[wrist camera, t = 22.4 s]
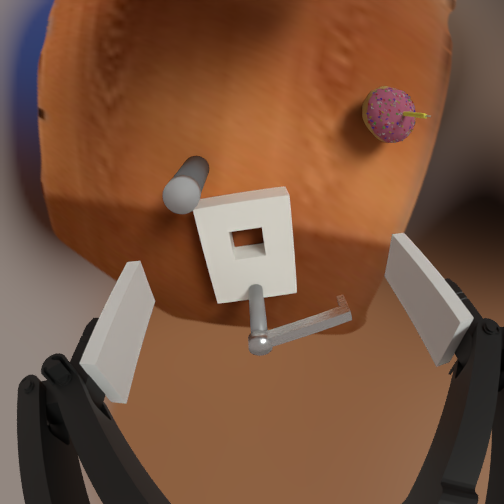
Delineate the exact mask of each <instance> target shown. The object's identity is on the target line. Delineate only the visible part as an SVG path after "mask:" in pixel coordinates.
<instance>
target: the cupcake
mask: <svg viewBox="0 0 504 504" xmlns="http://www.w3.org/2000/svg"><path fill="white" fill-rule="evenodd" d="M414 109H415V107H414V103H413V102H412V100H411V99H410V96H408V94H406V93H405V92H404V91H401V90H398V89H395V88H392V87H388V86H382V87H379V88H377V89H375V90H373V91H371V92H370V93H369V94H368V96H367V97H366V99H365V100H364V102H363V105H362V118H363V121H364V123H365V125H366V126H367V128H368V129H369V130H370V132H371V133H372V134H373V135H374V136H375V137H376V138H377V139H379V140H380V141H383V142H386V143H393V142H394V143H396V142H399V141H403V139H405V138H407V136H408V135H409V134H410V133H411V132H412V130H413V127H414V125H415V117H418V118H427V117H431V116H430V115H426V114H425V113H415V110H414Z"/></svg>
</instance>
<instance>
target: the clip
mask: <svg viewBox="0 0 504 504" xmlns="http://www.w3.org/2000/svg"><path fill="white" fill-rule="evenodd" d="M337 301H338V305H339V307H337V308H334V309H331V310H328V311H326V312H323V313H320V314H317V315H314V316H311V317H308V318H306V319H303V320H300V321H297V322H294V323H291V324H288V325H284V326H281V327H278V328H275V329H272V330H269V331H264V330H257V331H254V332H252V333H251V334H250V335H249V337H248V339H249V340H248V341H249V351H250V352H251V353H252V354H254V355H266V354H268V353H269V352H270V351H271V350H272V346H276V345H279V344H282V343H285V342H289V341H292V340H295V339H298V338H301V337H304V336H307V335H310V334H313V333H316V332H319V331H322V330H325V329H328V328H331V327H334V326H336V325H339V324H342V323H345V322H347V321H350V320H352V316H351V312H350V309H349V307H348V305H347V302H346V300H345V298H344V295H340V296H337Z"/></svg>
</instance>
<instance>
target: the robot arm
mask: <svg viewBox="0 0 504 504" xmlns="http://www.w3.org/2000/svg"><path fill="white" fill-rule="evenodd" d="M385 278H386V279H387V281H388V283H389V284H390V286H391V287H392V289H393V290H394V292H395V294H396V295H397V297H398V299H399V300H400V302H401V304H402V305H403V307H404V309H405V310H406V312H407V314H408V315H409V317H410V319H411V321H412V322H413V324H414V326H415V328H416V329H417V331H418V333H419V335H420V337H421V338H422V340H423V342H424V344H425V346H426V348H427V350H428V351H429V353H430V355H431V357H432V359H433V361H434V363H435V365H436V367H437V366H440V365H443V364H446V363H448V362H450V360H451V358H452V356H453V355H454V354H455V355H456V357H457V358H458V359H457V361H456V362H455V364H454V365H453V367H452V369H451V370H450V372H449V374H450V375H451V373H452V372H453V375H452V379H451V384H450V388H449V391H448V395H447V399H446V402H445V406H444V409H443V412H442V416H441V419H440V422H439V425H438V428H437V430H436V433H435V436H434V439H433V441H432V444H431V447H430V449H429V452H428V454H427V457H426V459H425V461H424V464H423V466H422V468H421V470H420V473H419V475H418V477H417V479H416V481H415V483H414V485H413V487H412V489H411V491H410V493H409V495H408V497H407V498H406V500H405V501H404V502H403V503H402V504H477V503H478V495H477V494H476V492H475V487H476V484H477V480H478V478H479V475H480V472H481V468H482V465H483V462H484V458H485V455H486V451H487V447H488V443H489V439H490V435H491V430H492V449H491V464H490V474H489V482H488V489H487V496H486V502H485V504H504V327H499V325H498V324H497V323H496V322H495V321H493V320H491V319H487V318H484V319H483V318H482V317H481V315H480V314H479V313H478V311H477V310H476V309H475V307H474V306H473V304H472V303H471V302H470V300H469V299H467V297H466V295H465V294H464V293H462V290H461V289H460V288H459V287H458V285H457V284H455V283H454V282H452V281H451V280H450V279H444V278H443V277H442V276H441V275H440V273H439V272H438V271H437V270H436V269H435V267H434V266H433V265H432V264H431V263H430V262H429V260H428V259H427V258H426V257H425V256H424V255H423V253H421V251H420V250H419V249H418V248H417V247H416V246H415V245H414V244H413V242H412V241H411V240H410V239H409V238H408V237H407V236H406V235H405V234H404V233H399V234H392V238H391V244H390V250H389V256H388V261H387V266H386V271H385ZM154 303H155V300H154V297H153V294H152V292H151V289H150V287H149V284H148V281H147V279H146V276H145V273H144V270H143V267H142V265H141V262H140V261H133V262H127V264H126V266H125V267H124V269H123V271H122V273H121V275H120V277H119V279H118V281H117V283H116V285H115V287H114V289H113V290H112V292H111V294H110V296H109V299H108V301H107V303H106V305H105V307H104V309H103V311H102V313H101V315H100V317H99V318H93V319H92V320H91V321H90V322H89V324H88V325H87V326H86V328H85V330H84V332H83V336H81V338H80V341H79V343H78V345H77V347H76V350H75V352H74V354H73V356H72V359H71V361H70V362H69V361H68V360H67V358H66V357H65V356H64V355H63V354H54V355H51V356H50V357H48V358H47V359H46V360H45V362H44V363H43V365H42V369H41V373H42V375H43V376H44V377H45V378H46V379H47V380H46V381H40V380H39V379H38V378H37V376H35V375H28V376H26V377H25V378H24V379H23V380H22V381H21V382H20V384H19V388H18V401H17V435H18V437H17V438H18V455H19V466H20V475H21V482H22V489H23V494H24V500H25V504H90V502H89V498H88V495H87V492H86V488H85V484H84V480H83V476H82V472H81V468H80V463H79V459H80V461H81V463H82V465H83V467H84V469H85V471H86V473H87V475H88V477H89V479H90V481H91V482H92V485H93V487H94V488H95V490H96V492H97V494H98V496H99V497H100V499H101V501H102V502H103V504H171V503H170V502H169V501H168V499H167V498H166V497H165V496H164V494H163V493H162V492H161V491H160V489H159V488H158V487H157V485H156V484H155V483H154V482H153V480H152V479H151V477H150V476H149V475H148V473H147V472H146V470H145V469H144V467H143V466H142V465H141V463H140V462H139V460H138V458H137V457H136V455H135V454H134V452H133V451H132V449H131V448H130V446H129V444H128V443H127V441H126V440H125V438H124V436H123V434H122V433H121V431H120V430H119V428H118V426H117V424H116V422H115V421H114V419H113V417H112V415H111V413H110V411H109V409H108V408H107V406H106V404H105V403H104V402H103V401H104V397H105V395H106V396H107V397H108V399H109V400H110V401H111V402H118V403H127V399H128V395H129V391H130V387H131V383H132V379H133V375H134V371H135V368H136V364H137V360H138V356H139V353H140V350H141V346H142V343H143V339H144V336H145V332H146V329H147V325H148V322H149V319H150V316H151V313H152V310H153V306H154ZM78 456H79V459H78Z"/></svg>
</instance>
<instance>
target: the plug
mask: <svg viewBox="0 0 504 504" xmlns="http://www.w3.org/2000/svg"><path fill="white" fill-rule="evenodd" d="M208 173H209V165H208V162H207V161H206V160H205V159H204V158H202V157H200V156H192V157H190V158H188V159H187V160H186V161H185V163H184V164H183V165H182V167H181V168H180V169H179V170H178V172H177V173H176V174H175V176H174V177H173V178H172V179H171V180H170V181H169V183H168V184H167V185H166V187H165V188H164V191H163V201H164V203H165V205H166V207H167V208H168V209H169V210H171V211H172V212H174V213H177V214H186V213H189V212H191V211H193V210H194V209H195V208H196V207H197V205H198V203H199V200H200V197H201V192H202V189H203V186H204V183H205V181H206V178H207V175H208Z"/></svg>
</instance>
